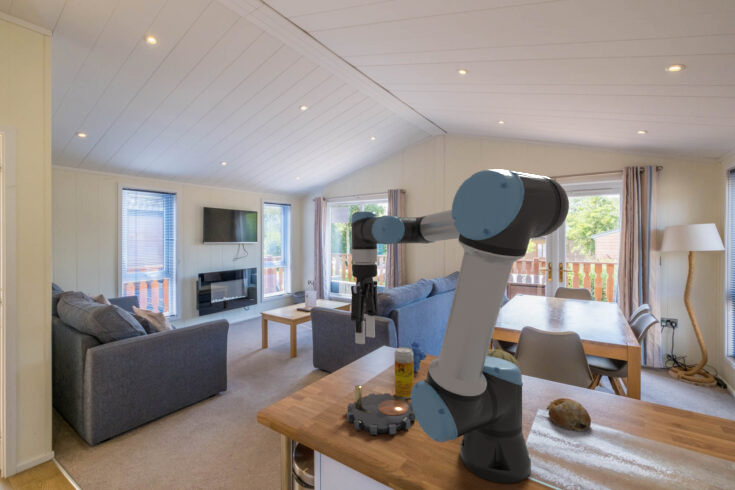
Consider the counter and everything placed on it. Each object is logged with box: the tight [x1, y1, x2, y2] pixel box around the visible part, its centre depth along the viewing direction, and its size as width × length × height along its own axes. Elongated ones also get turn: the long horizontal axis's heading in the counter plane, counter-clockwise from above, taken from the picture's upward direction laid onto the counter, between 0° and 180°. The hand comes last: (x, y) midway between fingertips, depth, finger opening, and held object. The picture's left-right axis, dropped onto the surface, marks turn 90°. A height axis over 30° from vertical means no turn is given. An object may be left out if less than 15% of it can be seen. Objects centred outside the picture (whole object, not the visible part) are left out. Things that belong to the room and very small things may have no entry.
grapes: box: [410, 340, 427, 372], centre depth 131 cm, size 12×7×12 cm, turn 171°
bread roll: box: [546, 397, 592, 433], centre depth 94 cm, size 10×10×8 cm
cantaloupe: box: [487, 345, 523, 376], centre depth 111 cm, size 15×15×15 cm
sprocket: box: [346, 384, 417, 436], centre depth 97 cm, size 20×20×8 cm
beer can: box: [394, 346, 415, 400], centre depth 111 cm, size 6×6×15 cm
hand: (365, 339), depth 102 cm, fingers open, 7 cm apart
